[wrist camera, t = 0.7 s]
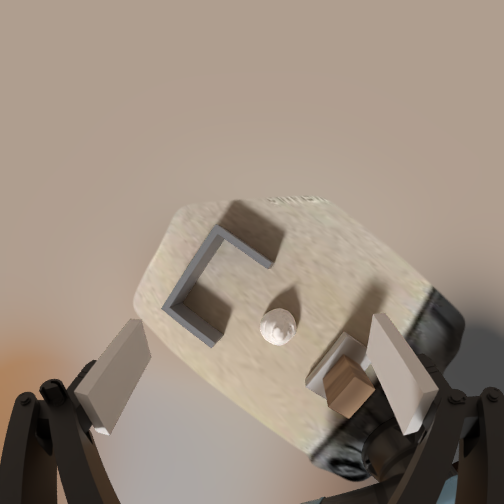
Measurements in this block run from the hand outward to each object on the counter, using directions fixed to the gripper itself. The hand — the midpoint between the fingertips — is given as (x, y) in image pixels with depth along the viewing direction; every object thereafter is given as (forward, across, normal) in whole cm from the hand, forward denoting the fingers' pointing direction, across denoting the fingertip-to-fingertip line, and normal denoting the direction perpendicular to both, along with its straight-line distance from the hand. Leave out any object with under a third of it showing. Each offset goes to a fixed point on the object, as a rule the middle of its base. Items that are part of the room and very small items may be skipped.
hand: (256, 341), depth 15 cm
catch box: (+28, +6, +8) cm, 30 cm away
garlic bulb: (+25, -2, +14) cm, 29 cm away
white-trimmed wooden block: (+22, -12, +21) cm, 32 cm away
